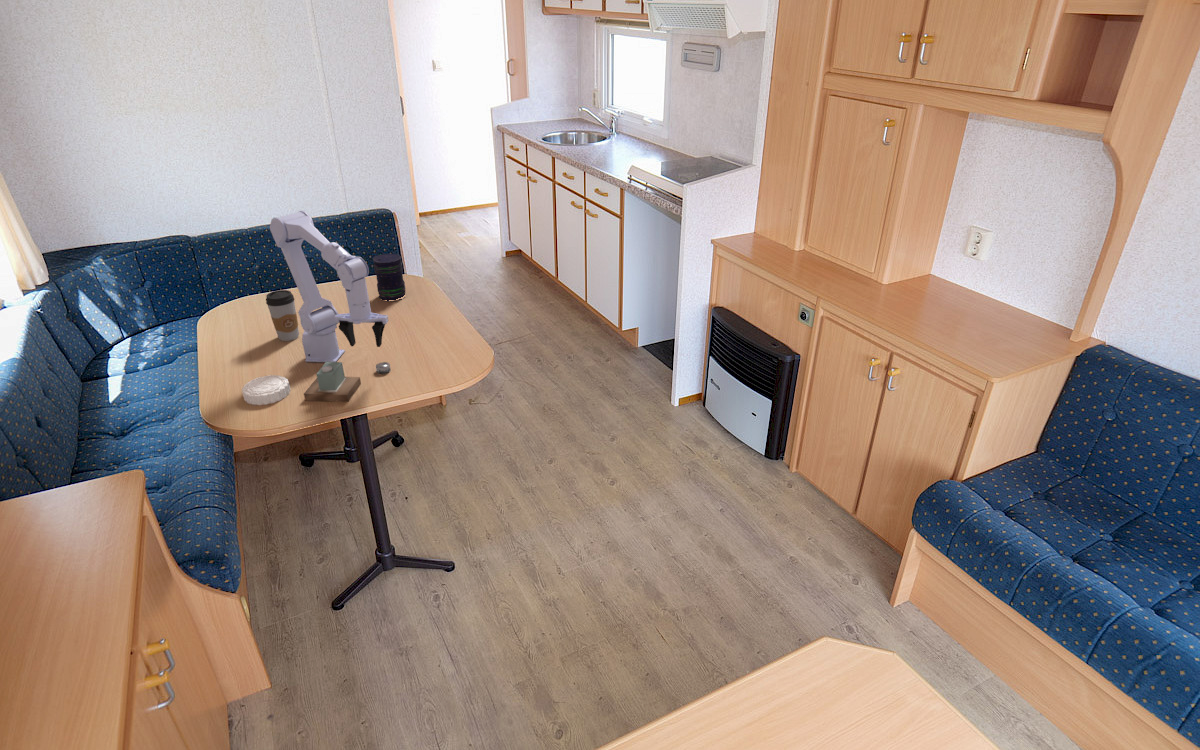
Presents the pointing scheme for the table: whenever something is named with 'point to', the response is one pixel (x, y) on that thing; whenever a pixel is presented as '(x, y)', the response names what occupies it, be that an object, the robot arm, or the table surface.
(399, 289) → the storage jar
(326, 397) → the stand
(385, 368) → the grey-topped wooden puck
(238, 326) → the table surface
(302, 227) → the robot arm
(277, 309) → the coffee cup
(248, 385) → the mooncake
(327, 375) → the block
